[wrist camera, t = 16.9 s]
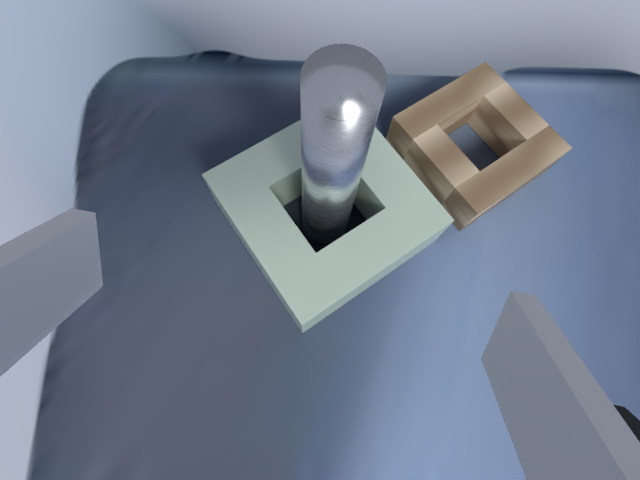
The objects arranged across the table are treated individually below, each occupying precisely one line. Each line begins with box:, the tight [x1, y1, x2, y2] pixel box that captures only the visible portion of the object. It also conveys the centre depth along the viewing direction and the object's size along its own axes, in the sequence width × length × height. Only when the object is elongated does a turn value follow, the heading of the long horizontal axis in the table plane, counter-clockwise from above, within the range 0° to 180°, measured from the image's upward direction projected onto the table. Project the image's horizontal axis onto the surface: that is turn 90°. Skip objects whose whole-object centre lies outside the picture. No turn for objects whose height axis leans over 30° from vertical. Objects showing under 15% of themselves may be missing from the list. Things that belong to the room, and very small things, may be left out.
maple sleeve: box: [386, 62, 572, 231], centre depth 36 cm, size 11×11×4 cm
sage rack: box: [202, 120, 454, 333], centre depth 33 cm, size 14×14×5 cm
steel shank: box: [300, 44, 387, 243], centre depth 27 cm, size 4×4×18 cm
